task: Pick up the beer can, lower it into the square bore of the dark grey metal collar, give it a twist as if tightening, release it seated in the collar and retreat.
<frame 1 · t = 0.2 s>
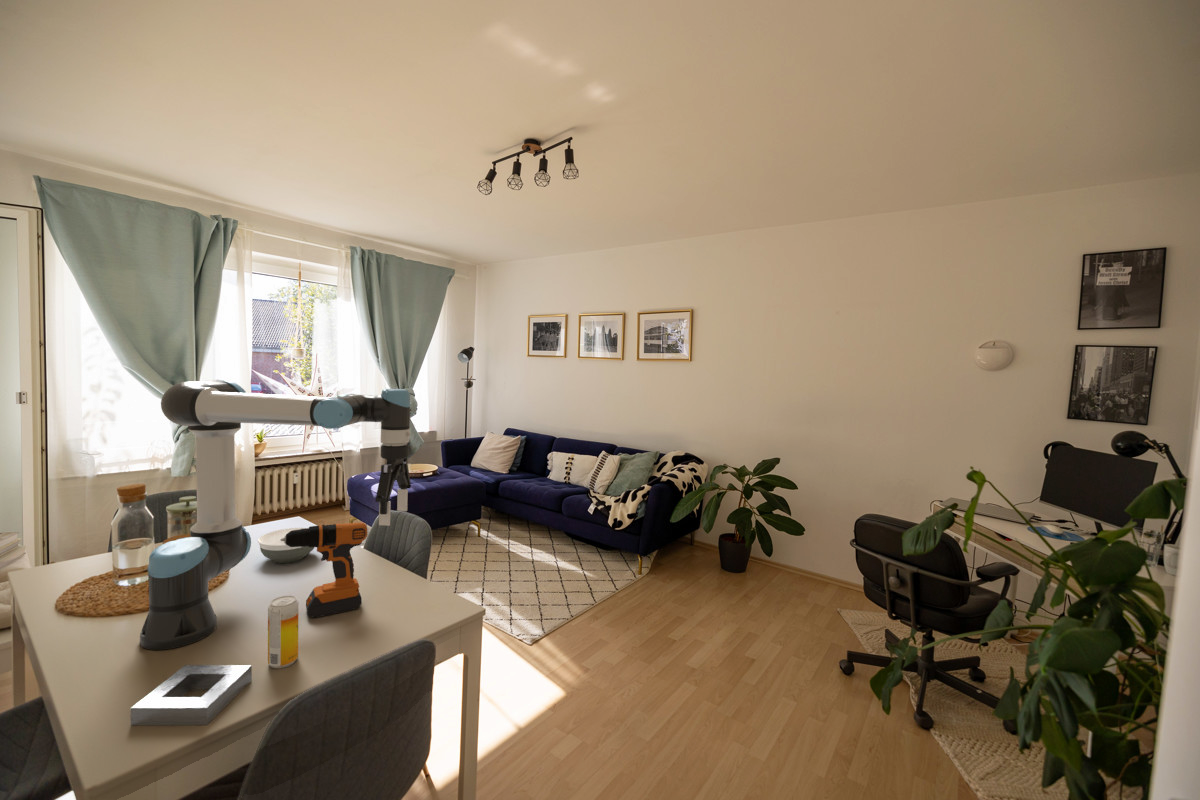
hand: (393, 517, 143), 28 cm above the table, fingers open, 13 cm apart
power drill: (325, 611, 144), on the table
bowl: (289, 559, 180), on the table
beer can: (283, 662, 119), on the table
collar: (195, 701, 105), on the table
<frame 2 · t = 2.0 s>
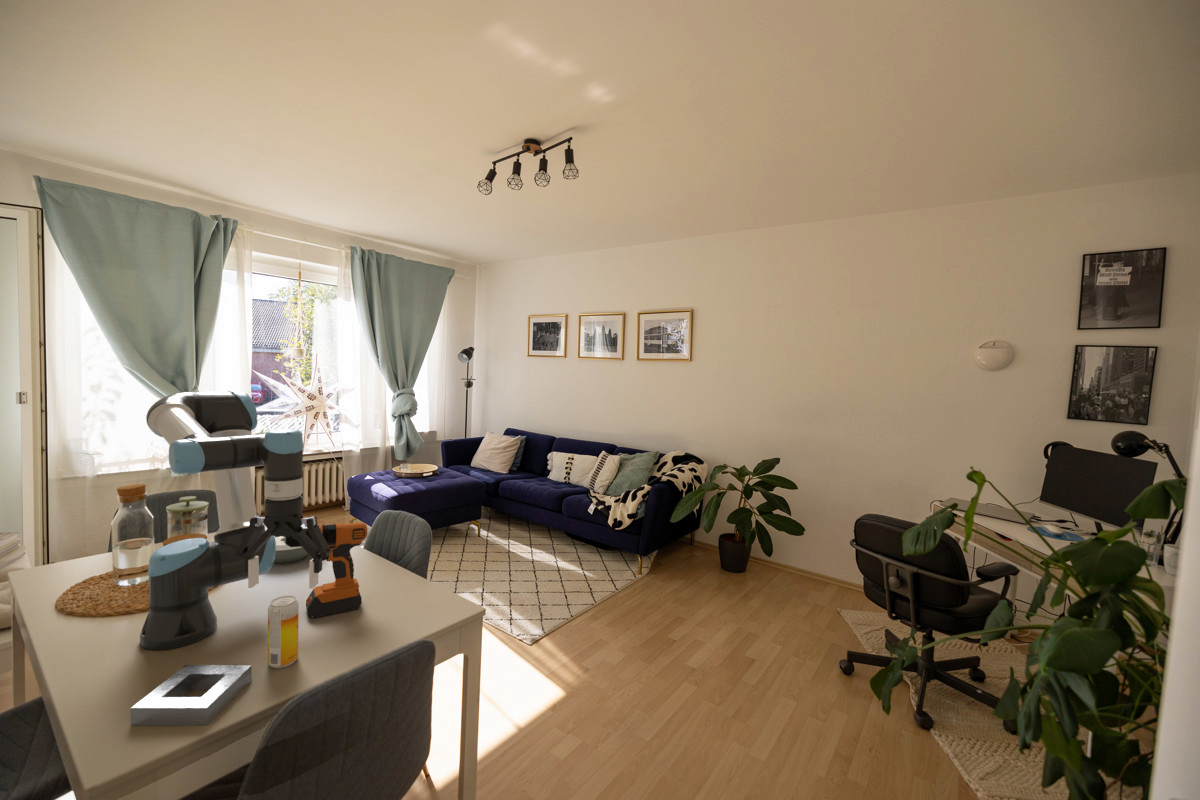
hand: (283, 585, 118), 19 cm above the table, fingers open, 13 cm apart
nothing on the table moved.
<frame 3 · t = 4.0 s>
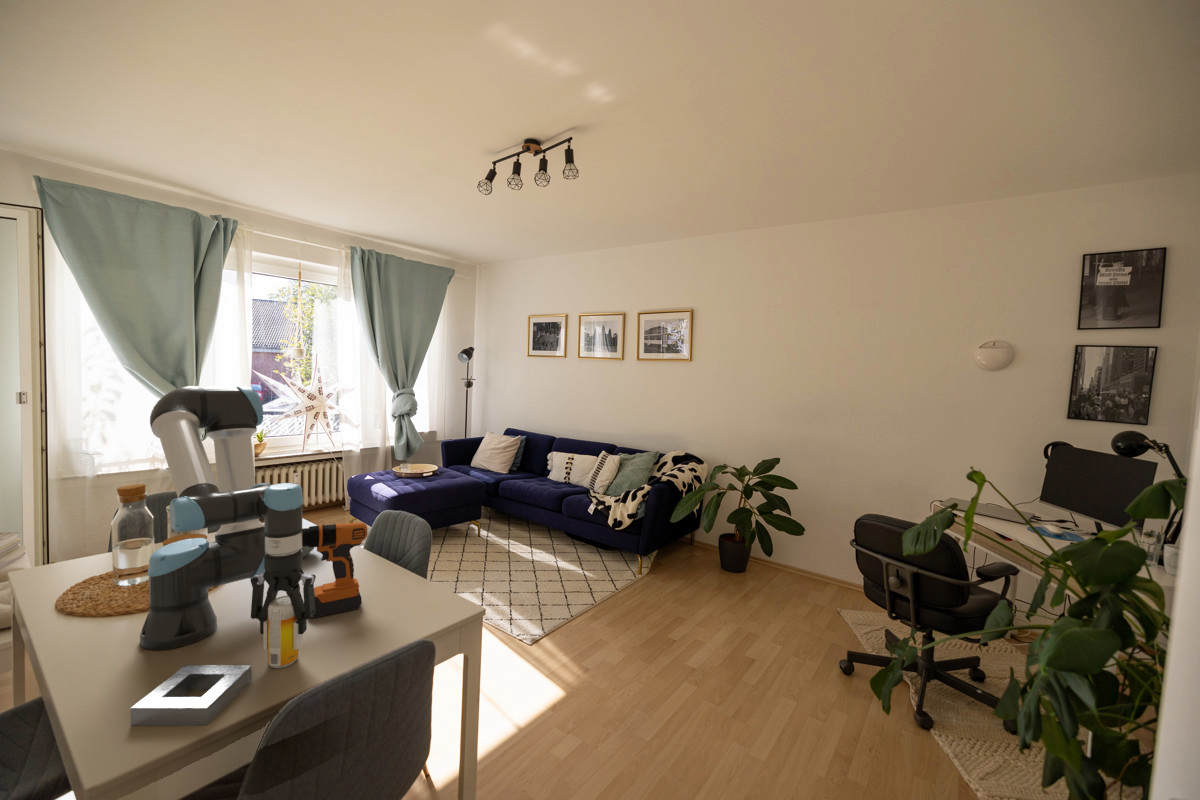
hand: (283, 646, 119), 4 cm above the table, fingers closed on beer can, 6 cm apart
beer can: (283, 662, 119), on the table, touching gripper
everything else where it was.
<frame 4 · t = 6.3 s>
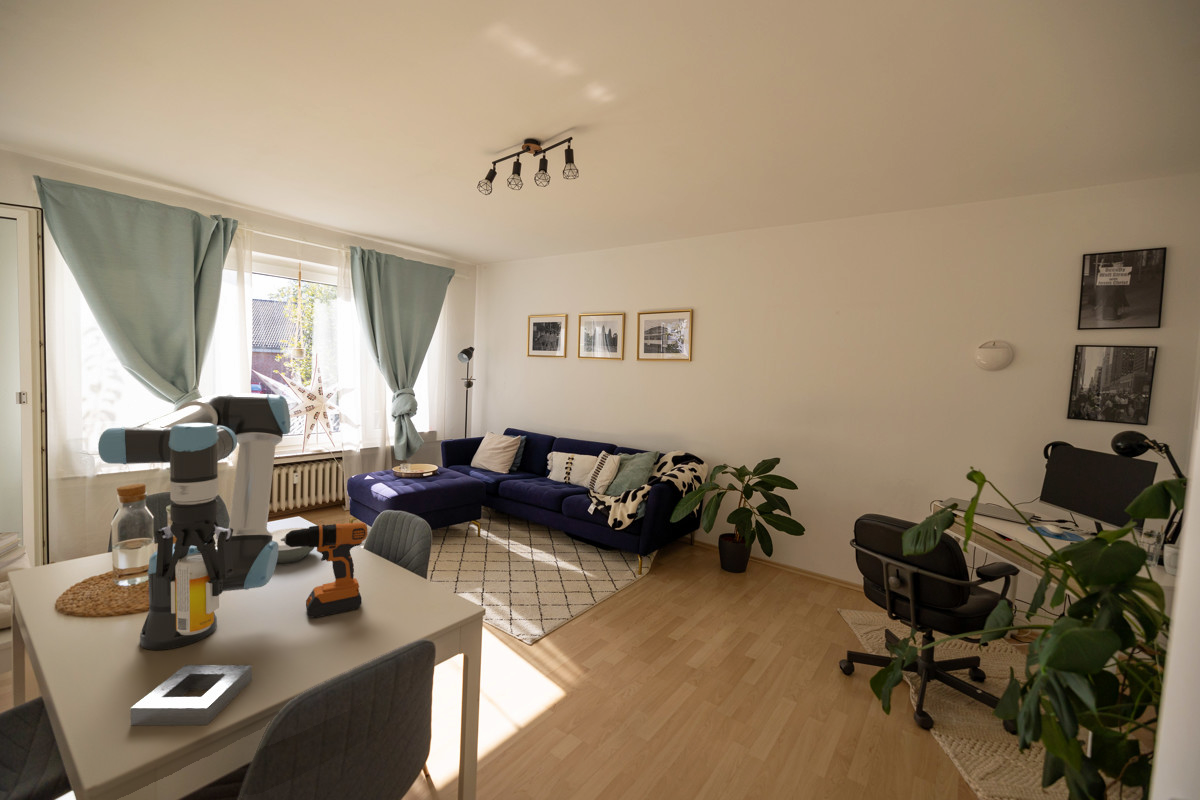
hand: (195, 610, 104), 20 cm above the table, fingers closed on beer can, 6 cm apart
beer can: (195, 629, 104), point 15 cm above the table, touching gripper
everything else where it was.
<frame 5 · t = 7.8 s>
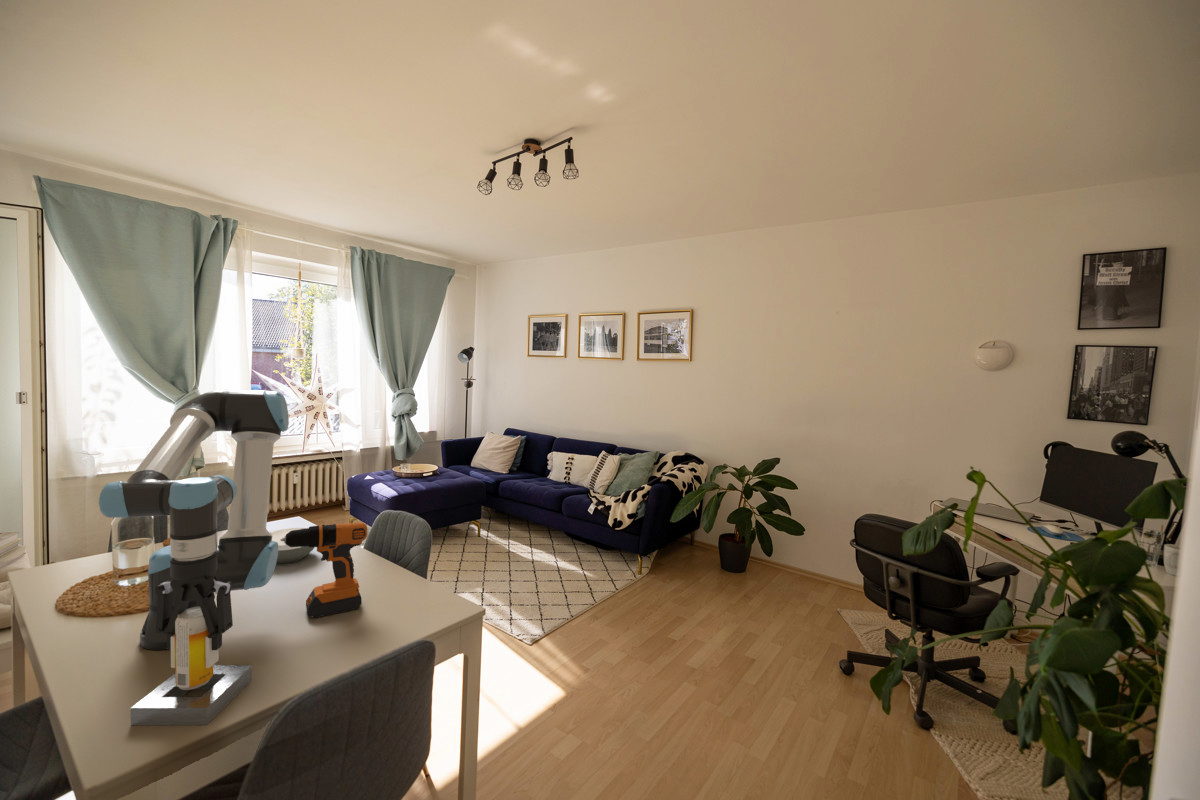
hand: (195, 663, 104), 8 cm above the table, fingers closed on beer can, 6 cm apart
beer can: (194, 683, 104), point 4 cm above the table, touching gripper
everything else where it was.
when the fingers open (6 cm above the table, at t = 9.1 s): beer can drops 2 cm, resting in collar.
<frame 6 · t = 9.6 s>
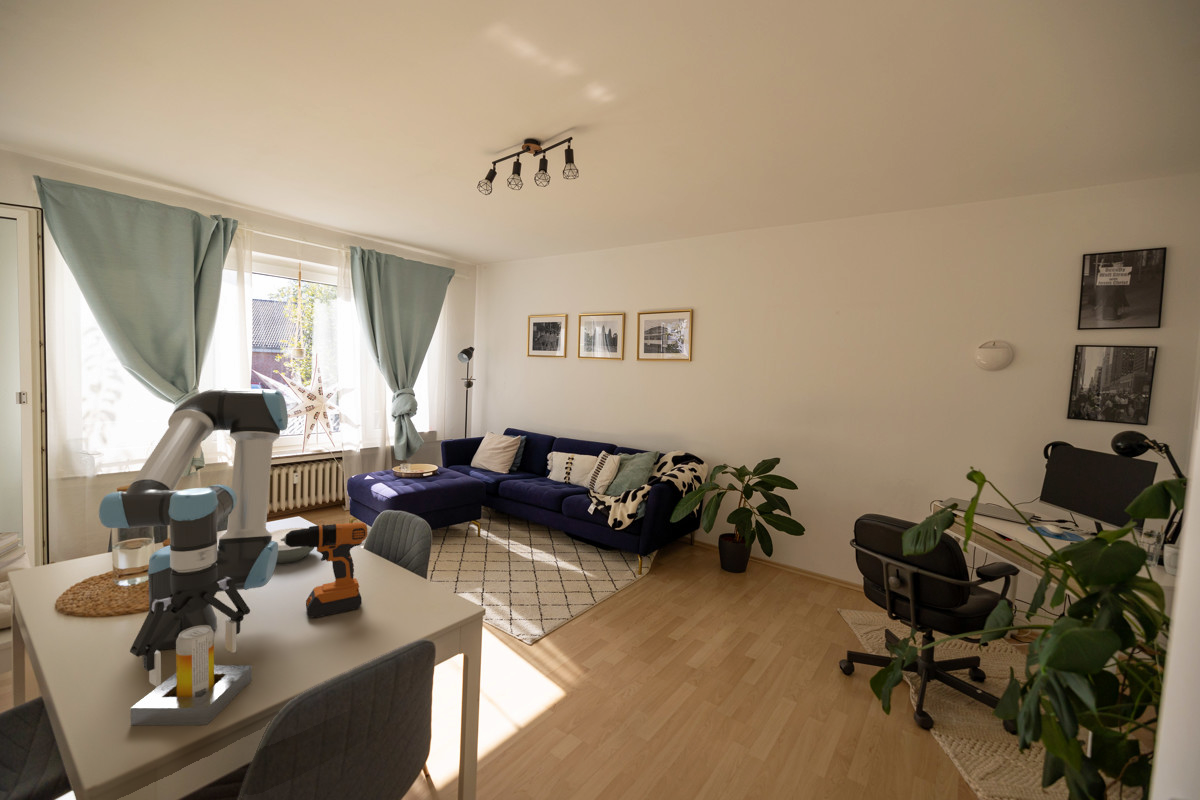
hand: (195, 665, 104), 8 cm above the table, fingers open, 13 cm apart
beer can: (195, 702, 105), resting in collar
everything else where it was.
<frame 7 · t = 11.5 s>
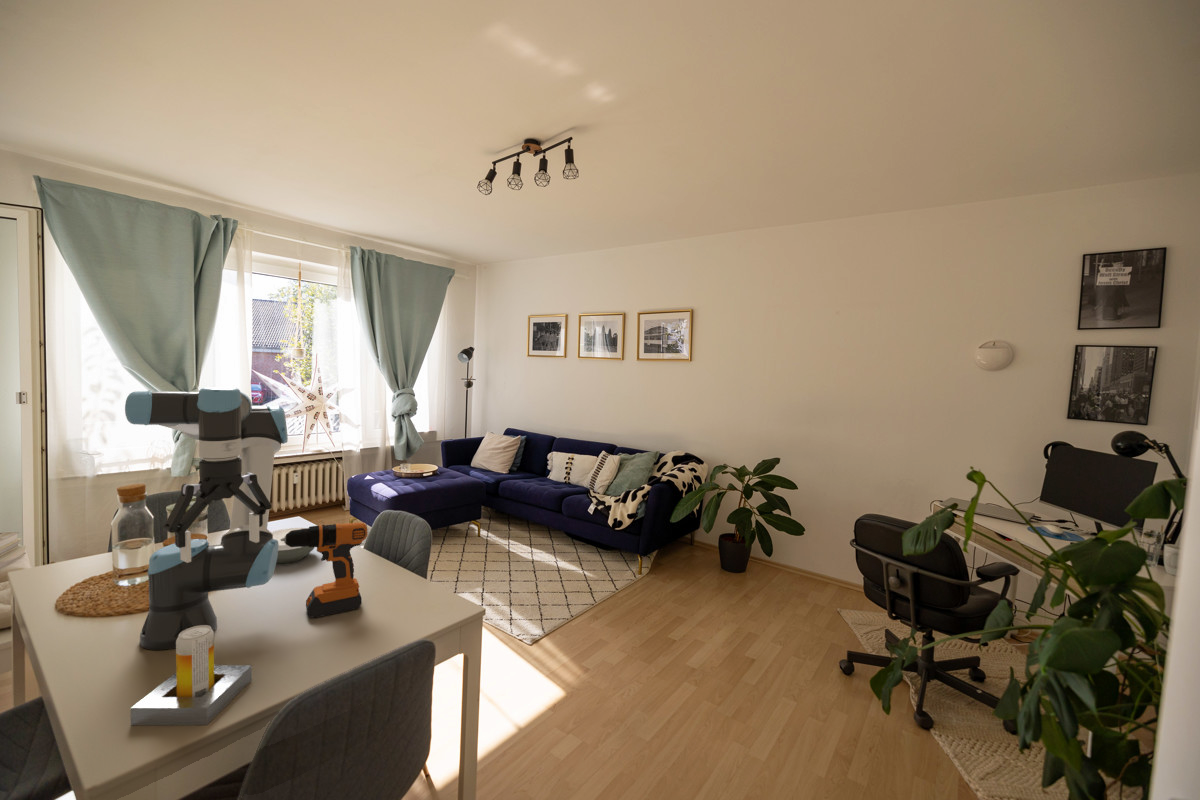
hand: (221, 550, 113), 28 cm above the table, fingers open, 13 cm apart
nothing on the table moved.
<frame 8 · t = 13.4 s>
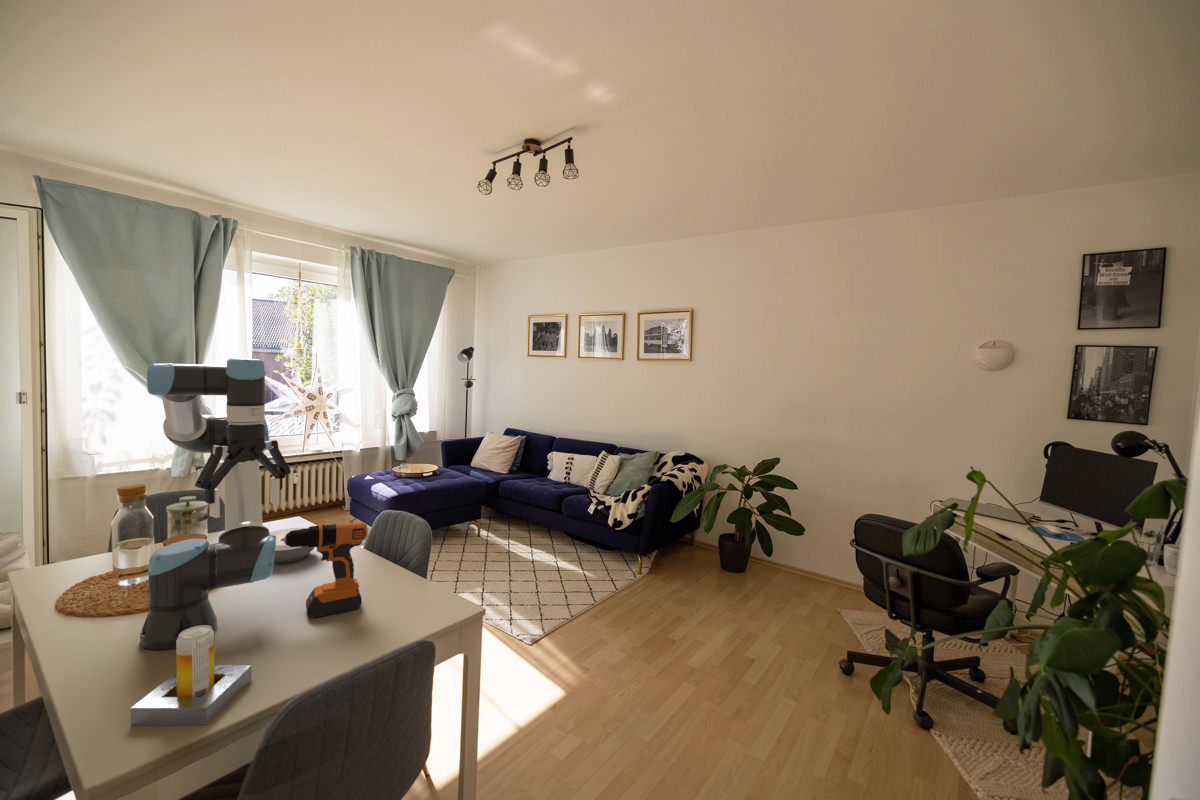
hand: (246, 509, 122), 35 cm above the table, fingers open, 13 cm apart
nothing on the table moved.
at the end: beer can 0.1 cm off-centre on the collar, point 0.0 cm above the collar's base; beer can tilted 0°; the gripper is holding nothing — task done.
